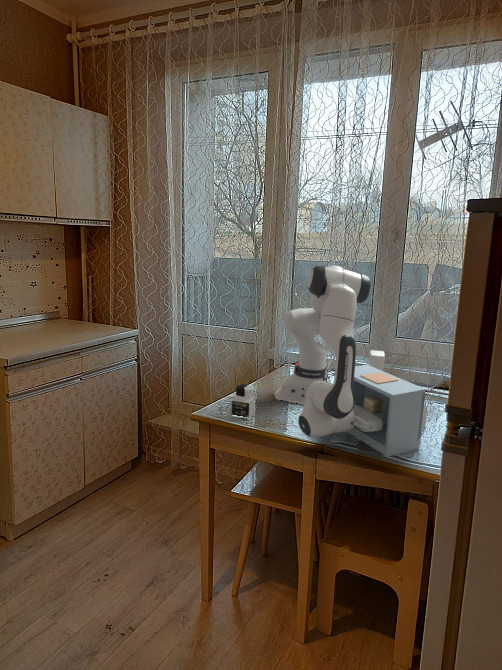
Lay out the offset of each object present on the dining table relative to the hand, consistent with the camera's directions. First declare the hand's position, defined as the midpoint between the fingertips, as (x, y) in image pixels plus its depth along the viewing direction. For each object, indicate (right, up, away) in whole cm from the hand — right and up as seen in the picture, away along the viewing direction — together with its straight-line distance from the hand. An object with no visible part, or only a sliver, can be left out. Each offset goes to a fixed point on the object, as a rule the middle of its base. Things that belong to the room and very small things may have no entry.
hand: (374, 411), depth 167 cm
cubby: (0, -9, +2) cm, 9 cm away
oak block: (-1, -6, +1) cm, 6 cm away
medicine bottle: (-46, -4, +17) cm, 50 cm away
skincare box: (+14, +4, +55) cm, 57 cm away
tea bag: (+18, -8, +9) cm, 22 cm away
